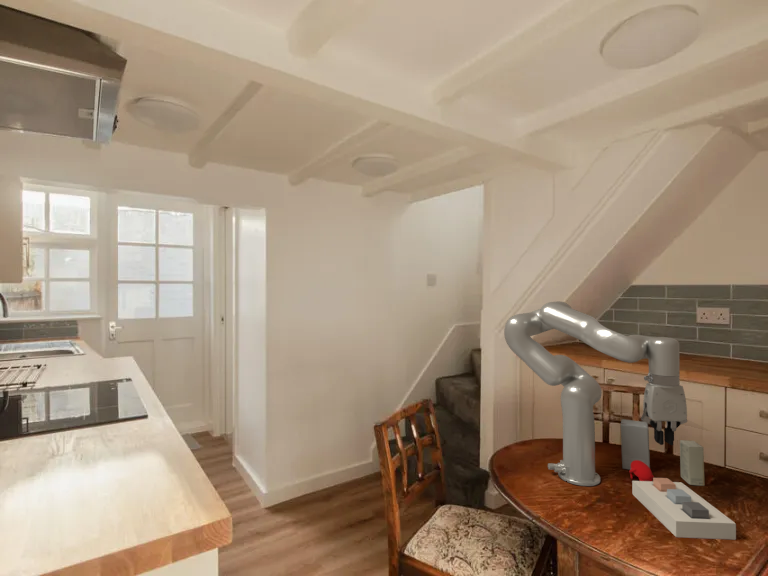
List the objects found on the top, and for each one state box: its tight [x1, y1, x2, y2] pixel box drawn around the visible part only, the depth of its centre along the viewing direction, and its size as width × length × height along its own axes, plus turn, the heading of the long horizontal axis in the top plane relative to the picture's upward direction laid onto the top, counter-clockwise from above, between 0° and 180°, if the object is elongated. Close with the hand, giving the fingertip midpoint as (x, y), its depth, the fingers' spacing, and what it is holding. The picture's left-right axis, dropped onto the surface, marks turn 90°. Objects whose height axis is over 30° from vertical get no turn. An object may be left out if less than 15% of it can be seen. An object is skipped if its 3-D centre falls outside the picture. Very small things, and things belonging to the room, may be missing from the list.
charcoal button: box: [682, 502, 709, 519], centre depth 109 cm, size 4×4×3 cm
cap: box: [628, 460, 655, 481], centre depth 136 cm, size 8×6×6 cm
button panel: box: [631, 480, 737, 541], centre depth 116 cm, size 14×22×4 cm, turn 175°
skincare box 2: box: [679, 439, 705, 487], centre depth 136 cm, size 6×4×12 cm
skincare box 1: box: [620, 418, 651, 471], centre depth 146 cm, size 8×7×16 cm
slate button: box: [667, 489, 691, 504], centre depth 116 cm, size 4×4×3 cm
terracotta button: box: [652, 477, 676, 492], centre depth 123 cm, size 4×4×3 cm
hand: (664, 442), depth 123 cm, fingers closed
